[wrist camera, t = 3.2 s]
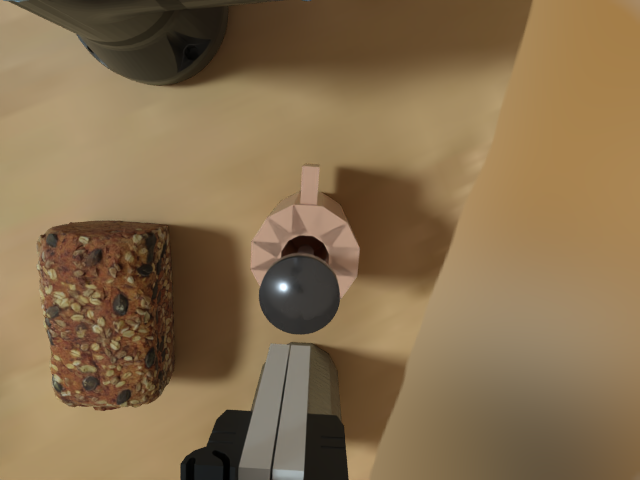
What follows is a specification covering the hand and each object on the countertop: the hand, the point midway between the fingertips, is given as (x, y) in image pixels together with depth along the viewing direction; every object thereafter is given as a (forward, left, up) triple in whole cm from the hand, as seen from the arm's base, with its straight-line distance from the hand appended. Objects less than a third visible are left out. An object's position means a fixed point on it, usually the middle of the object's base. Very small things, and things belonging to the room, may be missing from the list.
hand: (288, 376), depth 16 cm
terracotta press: (0, +2, -30) cm, 30 cm away
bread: (-20, -9, -31) cm, 38 cm away
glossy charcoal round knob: (0, 0, -21) cm, 21 cm away
